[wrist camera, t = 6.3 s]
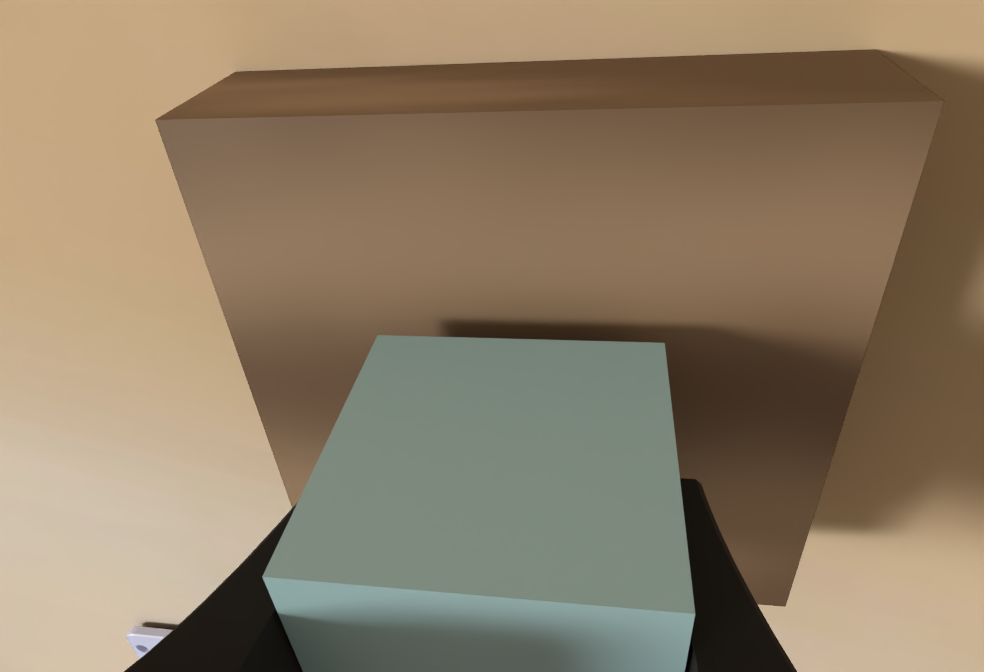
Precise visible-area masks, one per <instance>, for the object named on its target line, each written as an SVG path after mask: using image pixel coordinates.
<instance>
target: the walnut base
mask: <svg viewBox="0 0 984 672" xmlns="http://www.w3.org/2000/svg"><path fill="white" fill-rule="evenodd" d="M943 103H944V101H943V100H942V99H941V98H939V97H938V96H937V95H935V94H934V93H933V92H931V91H930V90H929V89H927V88H926V87H925V86H923V85H922V84H921V83H919V82H918V81H917V80H915V79H914V78H913V77H911V76H910V75H909V74H907V73H906V72H905V71H903V70H902V69H901V68H899V67H898V66H897V65H895V64H894V63H893V62H891V61H890V60H889V59H887V58H886V57H885V56H883V55H882V54H881V53H879V52H878V51H877V50H850V51H821V52H792V53H764V54H735V55H706V56H678V57H649V58H620V59H592V60H563V61H534V62H505V63H477V64H448V65H419V66H391V67H362V68H333V69H305V70H276V71H247V72H235V73H233V74H231V75H230V76H228V77H226V78H224V79H223V80H221V81H219V82H218V83H216V84H214V85H213V86H211V87H209V88H208V89H206V90H204V91H203V92H201V93H199V94H198V95H196V96H194V97H193V98H191V99H189V100H188V101H186V102H184V103H183V104H181V105H179V106H178V107H176V108H174V109H173V110H171V111H169V112H167V113H166V114H164V115H162V116H161V117H159V118H157V119H156V120H155V121H156V124H157V127H158V129H159V132H160V135H161V138H162V141H163V143H164V146H165V149H166V152H167V155H168V158H169V160H170V163H171V166H172V169H173V172H174V175H175V177H176V180H177V183H178V186H179V189H180V192H181V194H182V197H183V200H184V203H185V206H186V209H187V211H188V214H189V217H190V220H191V223H192V226H193V228H194V231H195V234H196V237H197V240H198V242H199V245H200V248H201V251H202V254H203V257H204V259H205V262H206V265H207V268H208V271H209V274H210V276H211V279H212V282H213V285H214V288H215V291H216V293H217V296H218V299H219V302H220V305H221V308H222V310H223V313H224V316H225V319H226V322H227V324H228V327H229V330H230V333H231V336H232V339H233V341H234V344H235V347H236V350H237V353H238V356H239V358H240V361H241V364H242V367H243V370H244V373H245V375H246V378H247V381H248V384H249V387H250V390H251V392H252V395H253V398H254V401H255V404H256V407H257V409H258V412H259V415H260V418H261V421H262V423H263V426H264V429H265V432H266V435H267V438H268V440H269V443H270V446H271V449H272V452H273V455H274V457H275V460H276V463H277V466H278V469H279V472H280V474H281V477H282V480H283V483H284V486H285V489H286V491H287V494H288V497H289V500H290V503H291V506H292V508H293V507H294V506H295V505H296V503H297V502H298V501H299V499H300V497H301V495H302V492H303V490H304V488H305V486H306V484H307V482H308V480H309V478H310V476H311V474H312V471H313V469H314V467H315V465H316V463H317V461H318V459H319V457H320V455H321V453H322V451H323V448H324V446H325V444H326V442H327V440H328V438H329V436H330V434H331V432H332V430H333V427H334V425H335V423H336V421H337V419H338V417H339V415H340V413H341V411H342V409H343V407H344V404H345V402H346V400H347V398H348V396H349V394H350V392H351V390H352V388H353V386H354V384H355V381H356V379H357V377H358V375H359V373H360V371H361V369H362V367H363V365H364V363H365V360H366V358H367V356H368V354H369V352H370V350H371V348H372V346H373V344H374V342H375V340H376V337H377V335H392V336H429V337H466V338H503V339H540V340H578V341H615V342H652V343H665V350H666V359H667V368H668V377H669V385H670V394H671V403H672V412H673V421H674V430H675V439H676V447H677V456H678V465H679V474H680V478H686V479H696V480H697V481H698V482H700V483H701V484H702V487H703V490H704V493H705V495H706V498H707V501H708V503H709V506H710V508H711V511H712V513H713V516H714V518H715V520H716V523H717V525H718V527H719V530H720V532H721V534H722V536H723V538H724V540H725V543H726V545H727V547H728V549H729V551H730V553H731V555H732V557H733V559H734V561H735V563H736V565H737V567H738V569H739V571H740V573H741V575H742V577H743V579H744V581H745V583H746V584H747V586H748V588H749V590H750V592H751V594H752V596H753V597H754V599H755V601H756V603H757V604H761V605H773V606H786V603H787V600H788V596H789V593H790V590H791V587H792V584H793V580H794V577H795V574H796V571H797V568H798V565H799V561H800V558H801V555H802V552H803V549H804V545H805V542H806V539H807V536H808V533H809V530H810V526H811V523H812V520H813V517H814V514H815V510H816V507H817V504H818V501H819V498H820V495H821V491H822V488H823V485H824V482H825V479H826V475H827V472H828V469H829V466H830V463H831V460H832V456H833V453H834V450H835V447H836V444H837V441H838V437H839V434H840V431H841V428H842V425H843V421H844V418H845V415H846V412H847V409H848V406H849V402H850V399H851V396H852V393H853V390H854V386H855V383H856V380H857V377H858V374H859V371H860V367H861V364H862V361H863V358H864V355H865V351H866V348H867V345H868V342H869V339H870V336H871V332H872V329H873V326H874V323H875V320H876V316H877V313H878V310H879V307H880V304H881V301H882V297H883V294H884V291H885V288H886V285H887V282H888V278H889V275H890V272H891V269H892V266H893V262H894V259H895V256H896V253H897V250H898V247H899V243H900V240H901V237H902V234H903V231H904V227H905V224H906V221H907V218H908V215H909V212H910V208H911V205H912V202H913V199H914V196H915V192H916V189H917V186H918V183H919V180H920V177H921V173H922V170H923V167H924V164H925V161H926V157H927V154H928V151H929V148H930V145H931V142H932V138H933V135H934V132H935V129H936V126H937V123H938V119H939V116H940V113H941V110H942V107H943Z"/></svg>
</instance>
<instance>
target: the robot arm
mask: <svg viewBox="0 0 984 672" xmlns="http://www.w3.org/2000/svg"><path fill="white" fill-rule="evenodd" d="M680 483H681V492H682V501H683V510H684V518H685V527H686V536H687V545H688V554H689V563H690V572H691V580H692V589H693V598H694V607H695V618H694V624H693V629H692V635H691V640H690V646H689V651H688V657H687V662H686V668H685V672H797V671H796V669H795V668H794V666H793V664H792V663H791V661H790V659H789V658H788V656H787V654H786V653H785V651H784V650H783V648H782V646H781V645H780V643H779V641H778V640H777V638H776V636H775V635H774V633H773V631H772V630H771V628H770V626H769V624H768V623H767V621H766V619H765V617H764V616H763V614H762V612H761V610H760V609H759V607H758V605H757V603H756V601H755V599H754V597H753V596H752V594H751V592H750V590H749V588H748V586H747V584H746V583H745V581H744V579H743V577H742V575H741V573H740V571H739V569H738V567H737V565H736V563H735V561H734V559H733V557H732V555H731V553H730V551H729V549H728V547H727V545H726V543H725V540H724V538H723V536H722V534H721V532H720V530H719V527H718V525H717V523H716V520H715V518H714V516H713V513H712V511H711V508H710V506H709V503H708V501H707V498H706V495H705V493H704V490H703V487H702V484H701V483H700V482H698V481H697V480H696V479H686V478H680ZM297 503H298V502H297ZM297 503H296V505H297ZM296 505H295V506H294V507H293V508H292V509H291V510H290V511H289V512H288V514H287V515H286V516H285V517H284V518H283V519H282V520H281V522H280V523H279V524H278V525H277V526H276V527H275V528H274V529H273V530H272V531H271V532H270V534H269V535H268V536H267V537H266V538H265V539H264V540H263V541H262V542H261V543H260V544H259V545H258V547H257V548H256V549H255V550H254V551H253V552H252V553H251V554H250V555H249V556H248V557H247V558H246V559H245V561H244V562H243V563H242V564H241V565H240V566H239V567H238V568H237V569H236V570H235V571H234V572H233V573H232V574H231V575H230V576H229V577H228V578H227V579H226V580H225V581H224V582H223V583H222V584H221V585H220V586H219V587H218V588H217V589H216V590H215V591H214V592H213V593H212V594H211V595H210V596H209V597H208V598H207V599H206V600H205V601H204V602H203V603H202V604H201V605H199V606H198V607H197V608H196V609H195V610H194V611H193V612H192V613H191V614H190V615H189V616H188V617H187V618H186V619H185V620H183V621H182V622H181V623H180V624H179V625H178V626H177V627H176V628H175V629H174V630H171V629H161V628H151V627H141V626H136V627H133V628H131V630H130V631H129V633H128V635H127V640H128V642H129V643H130V645H131V646H132V648H133V649H134V651H135V652H136V654H137V655H138V657H139V658H140V659H139V660H138V661H136V662H135V663H134V664H133V665H132V666H130V667H129V668H128V669H127V670H125V671H124V672H303V671H302V668H301V666H300V664H299V661H298V659H297V657H296V654H295V652H294V650H293V647H292V645H291V643H290V640H289V638H288V636H287V633H286V631H285V629H284V626H283V624H282V622H281V619H280V617H279V615H278V612H277V610H276V608H275V606H274V603H273V601H272V599H271V596H270V594H269V592H268V589H267V587H266V585H265V582H264V580H263V578H262V576H263V574H264V572H265V570H266V568H267V566H268V564H269V562H270V559H271V557H272V555H273V553H274V551H275V549H276V547H277V545H278V543H279V541H280V539H281V536H282V534H283V532H284V530H285V528H286V526H287V524H288V522H289V520H290V518H291V515H292V513H293V511H294V509H295V507H296Z"/></svg>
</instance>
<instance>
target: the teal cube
mask: <svg viewBox="0 0 984 672" xmlns="http://www.w3.org/2000/svg"><path fill="white" fill-rule="evenodd" d="M262 578H263V580H264V582H265V585H266V587H267V589H268V592H269V594H270V596H271V599H272V601H273V603H274V606H275V608H276V610H277V612H278V615H279V617H280V619H281V622H282V624H283V626H284V629H285V631H286V633H287V636H288V638H289V640H290V643H291V645H292V647H293V650H294V652H295V654H296V657H297V659H298V661H299V664H300V666H301V668H302V671H303V672H685V668H686V662H687V657H688V651H689V646H690V640H691V635H692V629H693V624H694V618H695V607H694V598H693V589H692V580H691V572H690V563H689V554H688V545H687V536H686V527H685V518H684V510H683V501H682V492H681V483H680V474H679V465H678V456H677V447H676V439H675V430H674V421H673V412H672V403H671V394H670V385H669V377H668V368H667V359H666V350H665V343H652V342H615V341H578V340H540V339H503V338H466V337H429V336H392V335H377V337H376V340H375V342H374V344H373V346H372V348H371V350H370V352H369V354H368V356H367V358H366V360H365V363H364V365H363V367H362V369H361V371H360V373H359V375H358V377H357V379H356V381H355V384H354V386H353V388H352V390H351V392H350V394H349V396H348V398H347V400H346V402H345V404H344V407H343V409H342V411H341V413H340V415H339V417H338V419H337V421H336V423H335V425H334V427H333V430H332V432H331V434H330V436H329V438H328V440H327V442H326V444H325V446H324V448H323V451H322V453H321V455H320V457H319V459H318V461H317V463H316V465H315V467H314V469H313V471H312V474H311V476H310V478H309V480H308V482H307V484H306V486H305V488H304V490H303V492H302V495H301V497H300V499H299V501H298V503H297V505H296V507H295V509H294V511H293V513H292V515H291V518H290V520H289V522H288V524H287V526H286V528H285V530H284V532H283V534H282V536H281V539H280V541H279V543H278V545H277V547H276V549H275V551H274V553H273V555H272V557H271V559H270V562H269V564H268V566H267V568H266V570H265V572H264V574H263V576H262Z"/></svg>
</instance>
